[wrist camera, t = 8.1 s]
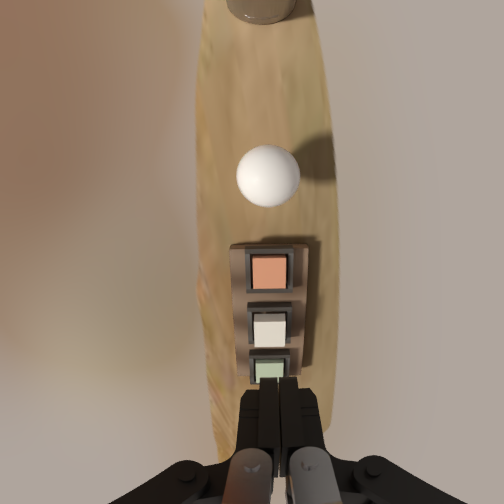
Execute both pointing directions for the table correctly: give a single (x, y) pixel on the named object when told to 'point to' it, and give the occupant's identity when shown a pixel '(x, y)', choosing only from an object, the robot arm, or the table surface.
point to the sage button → (269, 368)
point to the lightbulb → (268, 175)
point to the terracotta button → (269, 271)
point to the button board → (269, 306)
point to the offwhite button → (269, 330)
